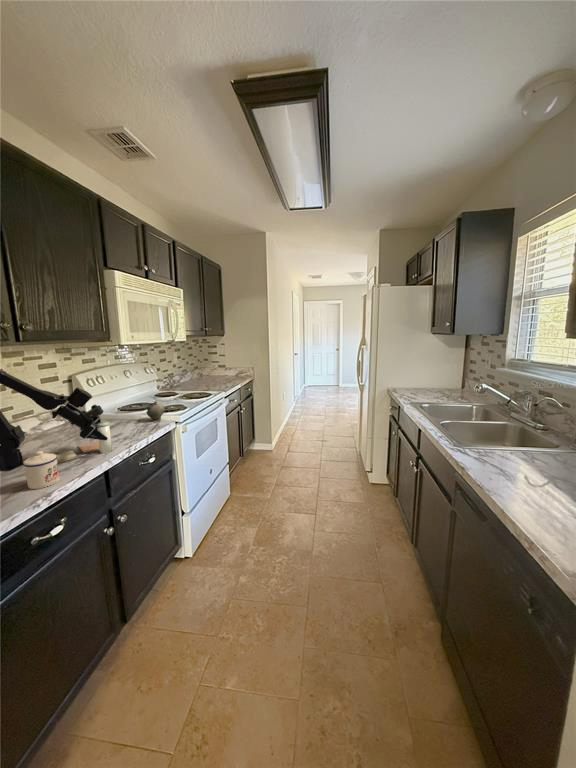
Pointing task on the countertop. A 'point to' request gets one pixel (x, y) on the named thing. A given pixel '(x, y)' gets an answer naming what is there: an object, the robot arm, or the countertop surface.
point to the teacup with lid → (41, 470)
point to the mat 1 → (66, 456)
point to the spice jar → (105, 429)
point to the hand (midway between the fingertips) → (107, 436)
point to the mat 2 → (89, 446)
